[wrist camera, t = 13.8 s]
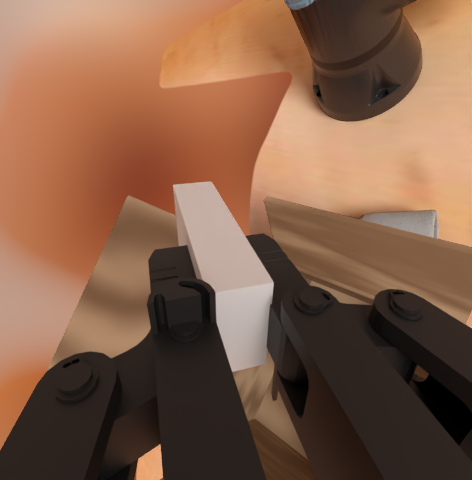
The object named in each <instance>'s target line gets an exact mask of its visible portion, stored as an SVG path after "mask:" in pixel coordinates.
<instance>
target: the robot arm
mask: <svg viewBox="0 0 472 480" xmlns="http://www.w3.org/2000/svg"><path fill="white" fill-rule="evenodd" d="M284 1H285V3H286V4H287V6H288V7H289V8H290V10H291V13H292V15H293V17H294V19H295V22H296V24H297V26H298V28H299V31H300V33H301V35H302V37H303V40H304V42H305V44H306V46H307V49H308V51H309V53H310V55H311V58H312V60H313V90H314V94H315V97H316V99H317V101H318V103H319V105H320V107H321V109H322V110H323V111H324V112H325V113H326V114H327V115H329V116H330V117H332V118H335V119H338V120H343V121H358V120H364V119H368V118H371V117H374V116H377V115H379V114H381V113H383V112H385V111H387V110H389V109H390V108H392V107H393V106H395V105H396V104H397V103H399V102H400V101H401V100H402V99H403V98H404V97H405V96H406V95H407V94H408V93H409V92H410V91H411V89H412V88H413V87H414V85H415V83H416V82H417V80H418V78H419V75H420V72H421V69H422V48H421V44H420V40H419V38H418V36H417V35H416V33H415V32H414V31H413V29H412V27H411V26H410V24H409V22H408V21H407V19H406V18H405V16H404V15H403V12H402V7H404V6H406V5H408V4H410V3H412V2H414V1H416V0H284ZM173 192H174V202H175V212H176V222H177V233H178V243H179V246H177V247H170V248H162V249H155V250H154V251H153V253H152V254H151V256H150V258H149V259H148V264H149V276H150V289H151V293H150V294H149V297H148V301H147V308H148V314H149V320H150V325H151V329H150V331H149V333H148V334H147V335H146V337H145V338H144V339H143V340H142V341H141V342H140V343H139V344H137V345H136V346H134V347H133V348H131V349H129V350H128V351H126V352H124V353H121V354H119V355H117V356H115V357H113V358H110V357H108V356H107V355H105V354H104V353H99V352H92V351H89V352H83V353H78V354H74V355H72V356H70V357H68V358H65V359H63V360H61V361H60V362H58V363H57V364H56V365H54V366H53V367H52V368H50V369H49V370H48V371H47V372H46V373H45V375H44V376H43V377H42V379H41V380H40V381H39V382H38V384H37V385H36V387H35V389H34V391H33V393H32V394H31V396H30V398H29V400H28V402H27V404H26V405H25V407H24V409H23V411H22V412H21V414H20V416H19V418H18V420H17V421H16V423H15V425H14V427H13V429H12V430H11V432H10V434H9V436H8V438H7V440H6V441H5V443H4V445H3V447H2V448H1V450H0V480H134V477H135V472H136V467H137V462H138V458H140V457H141V456H143V455H144V454H146V453H147V452H149V451H150V450H152V449H153V448H155V447H156V446H158V445H159V444H161V454H162V467H163V480H266V476H265V473H264V470H263V467H262V464H261V461H260V458H259V454H258V451H257V448H256V445H255V442H254V439H253V436H252V432H251V429H250V426H249V423H248V420H247V417H246V414H245V410H244V407H243V404H242V401H241V398H240V395H239V392H238V388H237V385H236V382H235V379H234V376H233V373H232V372H234V371H239V370H243V369H247V368H251V367H255V366H259V365H263V364H266V363H267V352H268V351H269V353H270V356H271V358H272V360H273V362H274V372H273V381H272V390H271V394H272V400H273V401H275V400H277V395H278V391H279V393H280V395H281V398H282V400H283V402H284V405H285V407H286V409H287V412H288V414H289V416H290V419H291V421H292V423H293V426H294V428H295V430H296V433H297V435H298V437H299V440H300V442H301V444H302V447H303V449H304V451H305V453H306V456H307V458H308V460H309V463H310V465H311V467H312V470H313V472H314V474H315V477H316V479H317V480H472V328H470V327H468V326H467V325H465V324H464V323H462V322H460V321H459V320H457V319H456V318H454V317H452V316H451V315H449V314H448V313H446V312H444V311H443V310H441V309H440V308H438V307H436V306H435V305H433V304H432V303H430V302H428V301H427V300H425V299H424V298H422V297H420V296H418V295H416V294H414V293H411V292H407V291H404V290H399V289H387V290H383V291H380V292H379V293H378V294H376V295H375V298H374V301H373V304H372V305H361V304H346V303H340V302H339V301H338V300H337V298H335V297H334V296H333V295H332V294H331V293H330V292H328V291H326V290H324V289H322V288H320V287H316V286H311V285H309V284H308V282H307V281H306V280H305V279H304V277H303V276H302V275H301V273H300V272H299V271H298V269H297V268H296V267H295V266H294V264H293V263H292V262H291V260H290V259H288V256H287V255H286V254H285V252H284V251H282V249H281V247H280V246H279V245H278V243H277V242H276V241H275V240H274V239H272V238H270V237H269V236H267V235H265V234H257V235H250V236H245V235H244V234H243V232H242V230H241V229H240V227H239V225H238V224H237V222H236V220H235V219H234V217H233V216H232V214H231V212H230V211H229V209H228V208H227V206H226V204H225V203H224V201H223V200H222V198H221V196H220V195H219V193H218V191H217V190H216V188H215V187H214V185H213V183H212V182H211V181H210V182H199V183H187V184H177V185H173ZM417 366H420V367H421V368H422V369H423V370H425V371H426V372H427V373H428V374H429V375H428V376H427V378H423V377H420V376H418V375H417V374H415V370H416V368H417Z"/></svg>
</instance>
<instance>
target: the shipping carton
mask: <svg viewBox="0 0 472 480" xmlns="http://www.w3.org/2000/svg"><path fill="white" fill-rule="evenodd" d="M264 203H265V207H266V211H267V215H268V219H269V224H270V228H271V232H272V236H273V239H274V240H275V241H276V242H277V243H278V245H279V246H280V247H281V249H282V251H284V252H285V254H286V255H287V256H288V259H290V260H291V262H292V263H293V264H294V266H295V267H296V268H297V269H298V271H299V272H300V273H301V275H302V276H303V277H304V279H305V280H306V281H307V282H308V284H309V285H311V286H316V287H320V288H322V289H324V290H326V291H328V292H330V293H331V294H332V295H333V296H334V297H335V298H337V300H338V301H339V302H340V303H346V304H361V305H372V304H373V301H374V298H375V295H376V294H378V293H379V292H380V291H383V290H387V289H399V290H404V291H407V292H411V293H414V294H416V295H418V296H420V297H422V298H424V299H425V300H427V301H428V302H430V303H432V304H433V305H435V306H436V307H438V308H440V309H441V310H443V311H444V312H446V313H448V314H449V315H451V316H452V317H454V318H456V319H457V320H459V321H460V322H462V323H464V324H466V321H467V319H468V317H469V315H470V312H471V310H472V247H469V246H465V245H461V244H457V243H453V242H449V241H445V240H441V239H437V238H432V237H428V236H424V235H420V234H416V233H412V232H408V231H404V230H400V229H396V228H392V227H388V226H384V225H380V224H376V223H372V222H368V221H364V220H360V219H356V218H352V217H348V216H344V215H340V214H336V213H332V212H328V211H324V210H320V209H316V208H312V207H308V206H304V205H300V204H296V203H292V202H287V201H283V200H279V199H275V198H271V197H267V198H266V199H265V200H264ZM273 372H274V362H273V360H272V358H271V356H270V353H269V351H268V352H267V363H266V364H263V365H259V366H255V367H251V368H247V369H243V370H239V371H234V372H232V373H233V376H234V379H235V382H236V385H237V388H238V392H239V395H240V398H241V401H242V404H243V407H244V410H245V414H246V417H247V420H248V423H249V426H250V429H251V432H252V436H253V439H254V442H255V445H256V448H257V451H258V454H259V458H260V461H261V464H262V467H263V470H264V473H265V476H266V480H317V479H316V477H315V474H314V472H313V470H312V467H311V465H310V463H309V460H308V458H307V456H306V453H305V451H304V449H303V447H302V444H301V442H300V440H299V437H298V435H297V433H296V430H295V428H294V426H293V423H292V421H291V419H290V416H289V414H288V412H287V409H286V407H285V405H284V402H283V400H282V398H281V395H280V393H279V391H278V395H277V400H275V401H273V400H272V394H271V390H272V381H273ZM415 374H417V375H418V376H420V377H423V378H427V376H428V375H429V374H428V373H427V372H426V371H425V370H423V369H422V368H421V367H420V366H417V368H416V370H415ZM161 480H163V478H162V479H161Z"/></svg>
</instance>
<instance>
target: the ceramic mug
mask: <svg viewBox="0 0 472 480" xmlns="http://www.w3.org/2000/svg"><path fill="white" fill-rule="evenodd" d="M359 219H360V220H364V221H368V222H372V223H376V224H380V225H384V226H388V227H392V228H396V229H400V230H404V231H408V232H412V233H416V234H420V235H424V236H428V237H432V238H437V239H438V226H439V225H438V215H437V212H436V211H435V210H422V211H402V212H380V213H371V214H366V215H363V216H361V217H360V218H359Z"/></svg>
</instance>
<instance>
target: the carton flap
mask: <svg viewBox="0 0 472 480" xmlns="http://www.w3.org/2000/svg"><path fill="white" fill-rule="evenodd" d="M177 246H179V243H178V233H177V222H176V215H173V214H171V213H169V212H166V211H164V210H162V209H160V208H157V207H154V206H152V205H150V204H148V203H146V202H143V201H141V200H138V199H136V198H134V197H131V196H129V195H128V197H127V198H126V201H125V203H124V205H123V207H122V209H121V211H120V214H119V216H118V218H117V220H116V222H115V224H114V227H113V229H112V231H111V233H110V235H109V238H108V240H107V242H106V244H105V246H104V248H103V251H102V253H101V255H100V257H99V259H98V261H97V264H96V266H95V268H94V270H93V272H92V275H91V277H90V279H89V281H88V283H87V285H86V288H85V290H84V292H83V294H82V296H81V298H80V301H79V303H78V305H77V307H76V309H75V311H74V314H73V316H72V318H71V320H70V322H69V324H68V327H67V329H66V331H65V333H64V336H63V338H62V340H61V342H60V344H59V346H58V348H57V351H56V353H55V355H54V357H53V359H52V362H51V364H50V366H49V368H48V370H49V369H50V368H52V367H53V366H54V365H56V364H57V363H58V362H60V361H61V360H63V359H65V358H68V357H70V356H72V355H74V354H78V353H83V352H89V351H92V352H99V353H104V354H105V355H107V356H108V357H110V358H113V357H115V356H117V355H119V354H121V353H124V352H126V351H128V350H129V349H131V348H133V347H134V346H136V345H137V344H139V343H140V342H141V341H142V340H143V339H144V338H145V337H146V335H147V334H148V333H149V331H150V329H151V325H150V320H149V314H148V308H147V301H148V297H149V294H150V293H151V289H150V276H149V264H148V259H149V258H150V256H151V254H152V253H153V251H154V250H155V249H162V248H170V247H177Z"/></svg>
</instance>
